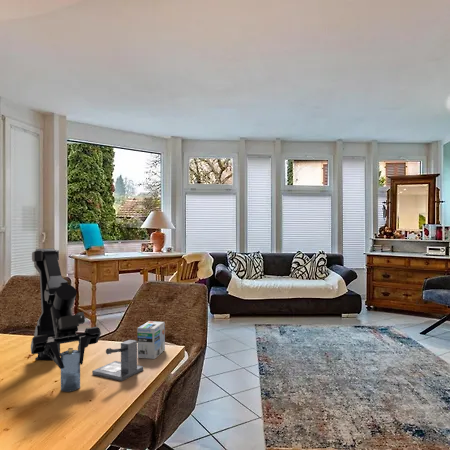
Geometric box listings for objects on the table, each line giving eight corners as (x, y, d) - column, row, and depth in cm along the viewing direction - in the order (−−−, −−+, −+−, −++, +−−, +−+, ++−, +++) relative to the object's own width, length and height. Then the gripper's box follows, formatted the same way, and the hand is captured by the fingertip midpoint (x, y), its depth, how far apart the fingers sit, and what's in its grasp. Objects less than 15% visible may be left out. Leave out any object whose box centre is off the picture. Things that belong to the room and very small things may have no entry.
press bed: (81, 379, 117) (80, 344, 117) (115, 364, 130) (114, 332, 130) (110, 386, 112) (110, 349, 112) (143, 370, 125) (143, 337, 125)
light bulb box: (154, 359, 135) (154, 328, 135) (136, 358, 136) (136, 327, 136) (165, 350, 146) (165, 321, 146) (148, 349, 147) (148, 320, 147)
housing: (57, 391, 109) (56, 351, 109) (66, 383, 114) (66, 345, 114) (74, 391, 108) (74, 351, 108) (83, 384, 113) (83, 346, 113)
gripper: (32, 307, 109) (38, 358, 100) (98, 300, 119) (110, 345, 110) (28, 329, 115) (34, 378, 106) (91, 320, 126) (102, 364, 117)
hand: (71, 366), depth 110 cm, fingers closed on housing, 5 cm apart
